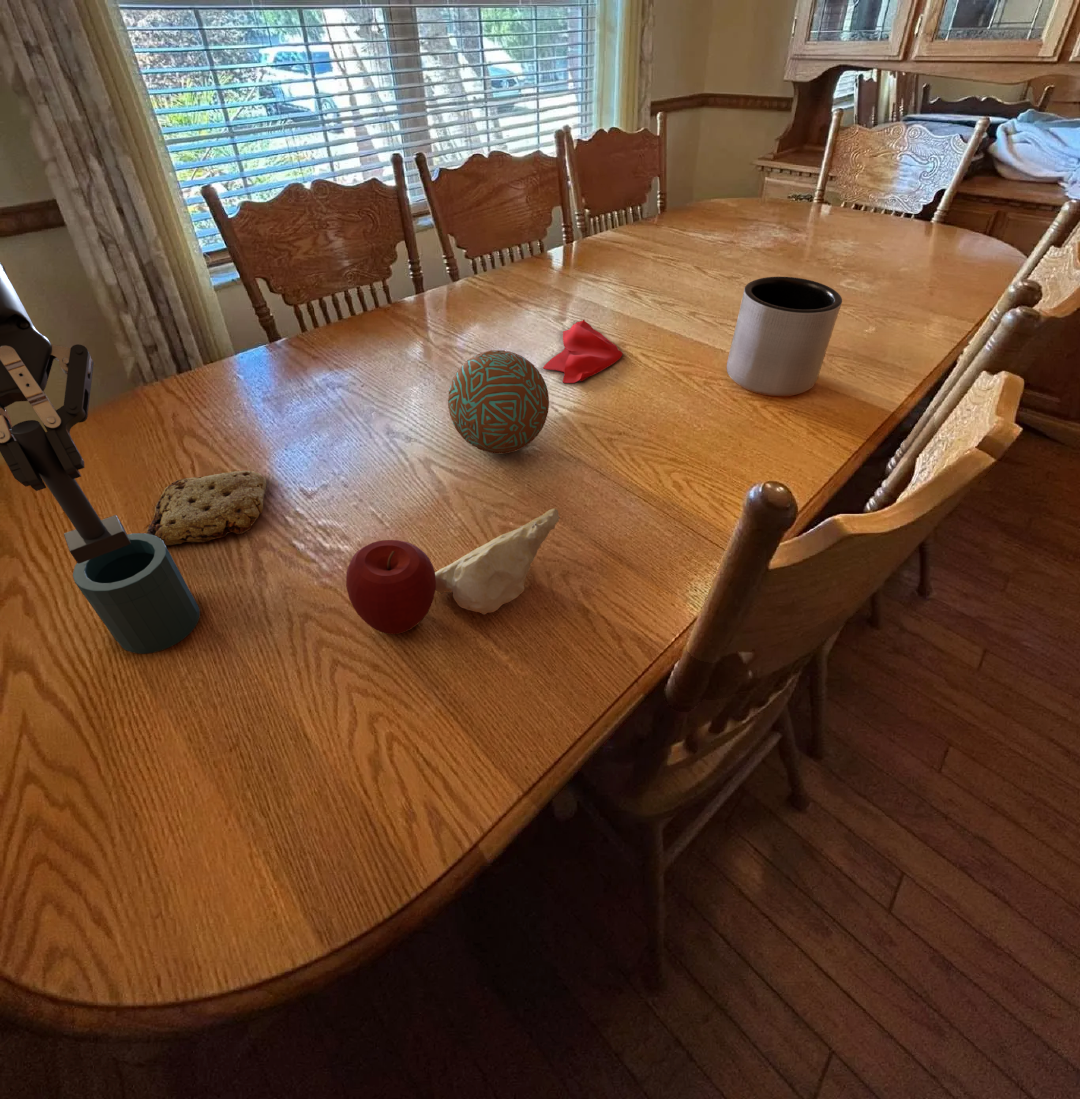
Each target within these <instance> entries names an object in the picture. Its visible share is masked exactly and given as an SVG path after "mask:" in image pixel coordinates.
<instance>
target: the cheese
mask: <svg viewBox="0 0 1080 1099" xmlns="http://www.w3.org/2000/svg"><path fill="white" fill-rule="evenodd" d="M560 518H561V516H560V514H559V510H558V509H557V508H556V507H555V508H551V509H548V510H547V511H546V512H544V513H543V514H541V515H540V516H537V517H535V518H534V519H532V520H531V521H529V522H526V523H525V524H524V525H520V526H519V527H518V528H516V529H514V530H511V531H509V532H506V533H503V534H501V535H499V536H498V535H497V537H495V538H493V539H491V540H490V541H488V542H487V543H484V544H483V545H481V546H478V547H477V548H475V549H473V550H472V551H470V552H468V553H466V554H465V555H463V556H461V557H459V559H456V560H455V561H453V562H452V563H450V564H448V565H446V566H445V567H442V568H439V570H437V571H435V577H436V589H435V592H437V593H439V594H440V595H443V594H444V593H445V592H451V593H452V598H453V600H454V601H455V602H456V604H457V606H459V607H460V608H461V609H464V610H468V611H472V612H476V613H481V614H482V615H487V613H494V612H496V611H498V609H500V607H501V606H502V605H504V604H508V603H510V602H512V601H513V600H515V599H516V598H518V597H519V596H520V594H522V593H523V592H524V591H525V585H524V584H525V582H526V577H527V575H528V573H529V571H530V569H531V565H532V563H533V562H534V560H535V558H536V556H537V554H538V551H539V549H540V547H541V545H542V544H543V543H544V542H545V541H546V539H547V538H548V536H549V534H550V532H551V531H552V530H554V529H555V527H556V525H557V524H558V522H560Z"/></svg>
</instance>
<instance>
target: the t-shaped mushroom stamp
mask: <svg viewBox="0 0 1080 1099" xmlns="http://www.w3.org/2000/svg"><path fill="white" fill-rule="evenodd" d="M45 430H46V429H44V427H43V425H42V424H41V423H40V421H38V420H37V419H36V420H35V419H28V420H24V421H20V422H18V423H16V424H14V425H12V428H11V430H10V431H11V433H12V435H13V436H14V438H15V439H16V441H18V443H19V444H20V446H21V447H22V449H23V450H24V452H25V453H26V455H27V456H28V458H29V459H30V461H31V462H32V464H33V465H34V467H35V468H36V470H37V471H38V473H39V474H40V476H41V478H42V480H43V482H44V484H45V486H46V488H48V490H49V491H50V493H51V494H52V496H53V498H54V499H55V501H56V502H57V503H58V505H59V506H60V508H61V510H62V511H63V512H64V514H65V515H66V517H67V518H68V520H69V521H70V523H71V524H72V526H73V527H74V529H73V530H70V531H66V532H64V533H63V536H64V539H65V543H66V545H67V548H68V551H69V553H70V554H71V556H72V558H74V560H75V561H76V564H77V563H78V564H80V563H82V562H85V561H87V560H90V559H93V558H95V557H98V556H100V555H103V554H106V553H108V552H111V551H114V550H116V549H119V548H121V547H124V546H127V545H129V544H131V542H130V540H129V538H128V536H127V534H128V533H127V531H126V529H125V527H124V525H123V522H121V520H120V519H119V517H118V515H117V514H114V515H111V516H109V517H106V518H103V519H101V518H100V517H99V515H98V514H97V511H96V510H95V508H94V507H93V505H92V504H91V502H90V500H89V499H88V497H87V495H86V494H85V492H84V491H83V490H82V488H81V486H80V484H79V483H78V481H77V480H76V478H75V479H71V478H70V477H69V476H68V475H67V473H66V471H65V470H64V468H63V466H62V464H61V462H60V460H59V458H58V457H57V455H56V453H55V451H54V449H53V447H52V446H51V444H50V442H49V440H48V438H47V436H46V434H45V432H46V431H45Z"/></svg>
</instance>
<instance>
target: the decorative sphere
mask: <svg viewBox="0 0 1080 1099" xmlns="http://www.w3.org/2000/svg"><path fill="white" fill-rule="evenodd" d="M447 408H448V412H449V416H450V420H451V422H452V424H453V426H454V428H455V430H456V432H457V433H458V434H459V435H460V436H461V438H462V439H463V440H465V441H466V442H467V443H468V444H469V445H471V446H472V447H474V448H476V449H477V450H480V451H482V452H486V453H489V454H498V455H500V454H508V453H509V454H510V453H513V452H517V451H518V450H519V451H520V450H521V449H524V448H525V447H527V446H528V445H529V444H530V443H531V442H533V441H534V440H536V438H537V437H538V436H539V435H540V432H541V431H542V430H543V428H544V426H545V424H546V422H547V418H548V414H549V408H550V396H549V389H548V386H547V383H546V381H545V379H544V377H543V376H542V373H540V370H539V369H538V368H537V367H536V366H535V365H534V363H532V362H531V361H530V360H528V359H527V357H526V358H525V357H524V356H523V355H520V354H518V353H515V352H513V351H509V350H503V349H499V350H497V349H491V350H487V351H483V352H479V353H478V354H475V355H473V356H472V357H471V358H468V359H467V360H466V361H465V362H464V363H463V364H462V365H461V366H460V367H459V368H458V370H457V372H455V374H454V376H453V378H452V380H451V383H450V385H449V389H448V396H447Z"/></svg>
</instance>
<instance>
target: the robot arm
mask: <svg viewBox="0 0 1080 1099" xmlns="http://www.w3.org/2000/svg"><path fill="white" fill-rule="evenodd" d="M54 361H57V362H58V366H59V367H60V369H61V370H62V372H63V374H65V375H66V381H65V382H66V383H65V392H64V398H63V399H64V400H63V405H61V407H59V408H57V409H56V408H55V406H54V405H53V403H52V402H51V400H50V398H49V397H48V396H47V394H46V392H45V390H46V388H47V384H48V380H49V378H50V375H51V374H50V373H51V370H52V367H53V363H54ZM93 372H94V360H93V358H92V355H91V354H90V352H89V350H88V348H87V347H86V346H85V345H83V344H80V343H79V344H74V345H72V346H71V347H69V346H62V345H57V344H51V342H50V340H49V339H48V337H46V336H45V335H43V334H42V333H40V332H39V331H38V330H37V329H36V327H35V325H34V324H33V321H32V320H31V318H30V316H29V313H28V312H27V310H26V308H25V306H24V305H23V303H22V301H21V298H20V297H19V295H18V294H17V292H16V289H15V288H14V286H13V284H12V282H11V280H10V279H9V276H8V273H7V270H6V268H5V266H4V265H3V263H1V262H0V454H1V456H2V458H3V460H4V462H5V464H6V465H7V468H8V470H9V471H10V472H11V474H12V477H13V478H14V479H15V481H17V482H19V483H20V484H21V485H22V486H24V487H26V488H27V487H31V488H32V489H33V490H34V491H36V492H39V491H41V490H44V489H47V485H46V484H45V482H44V481H43V479H42V478H41V476H40V474H39V473H38V471H37V470H36V468H35V467H34V465H33V464H32V462H31V461H30V459H29V458H28V456H27V455H26V453H25V452H24V450H23V449H22V447H21V446H20V444H19V443H18V441H16V439H15V438H14V436H13V435H12V433H11V431H10V430H11V428H12V427H13V424H12V419H11V416H10V415H9V412H8V410H7V407H8V406H10V405H12V404H14V403H17V402H28V403H29V404H30V406H31V407H32V408H33V410H34V412H35V413H36V415H37V416H38V418H39V419H40V421H41V422H42V424H43V426H44V428H45V430H46V431H45V434H46V436H47V438H48V440H49V442H50V444H51V446H52V447H53V449H54V451H55V453H56V455H57V457H58V458H59V460H60V462H61V464H62V466H63V468H64V470H65V471H66V473H67V475H68V476H69V477H70V478H71V479H75V480H76V479H78V478H81V477H82V475H81V473H80V470H82V469H85V460H84V458H83V456H82V454H81V453H80V451H79V449H78V447H77V445H76V443H75V442H74V439H73V438H72V436H71V429H72V428H73V427H74V426H75V425H77V424H78V423H79V424H80V423H85V422H86V421H87V420H88V417H89V407H90V400H91V391H92V380H93Z"/></svg>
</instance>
